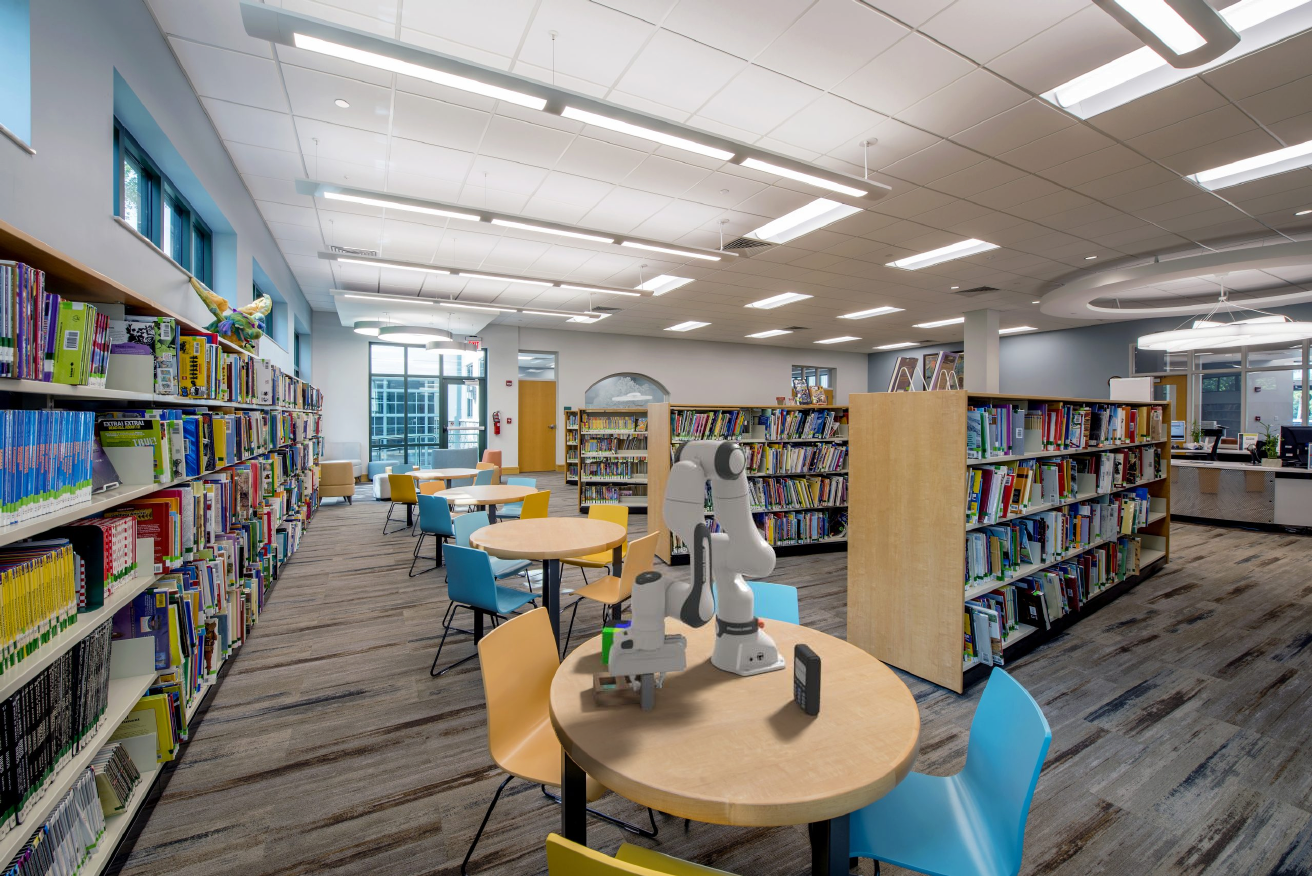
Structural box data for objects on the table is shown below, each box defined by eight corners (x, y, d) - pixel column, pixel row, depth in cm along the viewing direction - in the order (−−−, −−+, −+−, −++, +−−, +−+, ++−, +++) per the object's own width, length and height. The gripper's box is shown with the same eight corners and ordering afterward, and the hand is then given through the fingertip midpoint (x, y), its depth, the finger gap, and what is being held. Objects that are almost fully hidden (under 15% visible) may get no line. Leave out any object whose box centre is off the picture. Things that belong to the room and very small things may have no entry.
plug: (651, 702, 140) (651, 668, 139) (653, 708, 137) (654, 674, 136) (640, 703, 139) (640, 669, 139) (642, 709, 136) (642, 675, 136)
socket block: (642, 683, 150) (642, 668, 150) (649, 701, 140) (649, 686, 140) (593, 687, 147) (593, 672, 147) (596, 706, 137) (596, 690, 137)
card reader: (790, 697, 143) (792, 643, 142) (804, 696, 144) (806, 642, 143) (806, 716, 134) (807, 658, 133) (821, 715, 135) (822, 657, 134)
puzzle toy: (638, 651, 170) (639, 620, 170) (634, 666, 160) (634, 633, 160) (608, 649, 171) (608, 619, 171) (601, 664, 161) (602, 631, 161)
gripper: (683, 628, 142) (683, 679, 143) (607, 633, 138) (607, 685, 139) (689, 638, 136) (689, 691, 137) (610, 644, 132) (609, 698, 133)
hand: (647, 688), depth 138 cm, fingers open, 4 cm apart
